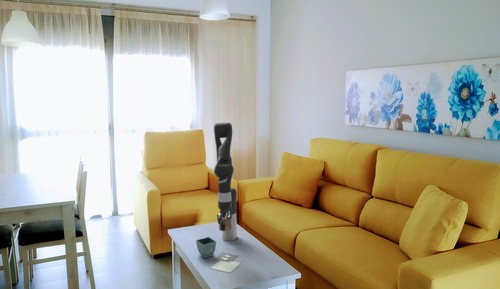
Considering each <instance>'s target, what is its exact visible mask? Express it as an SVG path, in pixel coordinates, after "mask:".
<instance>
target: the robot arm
mask: <svg viewBox="0 0 500 289" xmlns="http://www.w3.org/2000/svg"><path fill="white" fill-rule="evenodd" d="M213 133H214V141H215V142H214V143H215V148H216V149H215V151H216V164H215V165H214V166H215V167H214V169H213V172H214V175H215V176H216V177H217V178H218V183H217V207H218V209H219V213H217V215H216V217H217V223H218V225H219V224H221V230H222V231H221V237H222V240H224V241H225V242H226V241H227V242H229V241H230V242H231V241H235V240H237V237H238V229H237V228H238V226H237V225H238V224H237V205H238V204H237V202H238V201H237V199H238V193H237V192H238V191H237V190H236V188H233V187H231V186H232V178H233V175H234V166H233V158H232V156H231V146H232V141H233V140H232V139H233V126H232V123H231V122H216V123H214V125H213ZM221 139H225V140H224V141H223V142H222V141H221ZM223 218H224V219H223ZM226 218H231V229H230V230H229V231H227V232H226V231H224V230H225V220H226Z"/></svg>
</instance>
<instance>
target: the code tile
mask: <svg viewBox="0 0 500 289" xmlns="http://www.w3.org/2000/svg"><path fill="white" fill-rule="evenodd" d="M237 257H238V255H237V254H231V253H227V252H222V253H220V254H219V255H217V256H216V257H215V258H214V259H213V260H215V261H217V262H219V261H221V260H222V259H223V260H222V261H224V260H227V261H226V262H230V261H234V260H235V259H236V258H237Z"/></svg>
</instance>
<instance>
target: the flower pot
mask: <svg viewBox="0 0 500 289" xmlns="http://www.w3.org/2000/svg"><path fill="white" fill-rule="evenodd" d="M195 244H196V248H197V251H198V253H199V254H200V256H202V257H203V258H205V259H206V258H208V257H212V256H213V255H214V253H215V251H216V249H217V248H216V245H217V241H216V240H215V239H213V238H211V237H210V236H206V237H203V238H200V239H196V240H195Z"/></svg>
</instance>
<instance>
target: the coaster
mask: <svg viewBox="0 0 500 289" xmlns="http://www.w3.org/2000/svg"><path fill="white" fill-rule="evenodd" d="M222 260H223V259H222ZM222 260H221V261H217V263H215V264H214V265H213V266H211V267H210V269H211V270H216V271H220V272H223V273H224V272H225V273H228V274H231V273H232V272H233V271H234V270H235V269H237V268H238V267H239V266H240V265H241V264H242V263H241V262H239V261H238V262H237V261H234V260H232V261H230V262H226V261H227V260H224V261H222Z"/></svg>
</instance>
